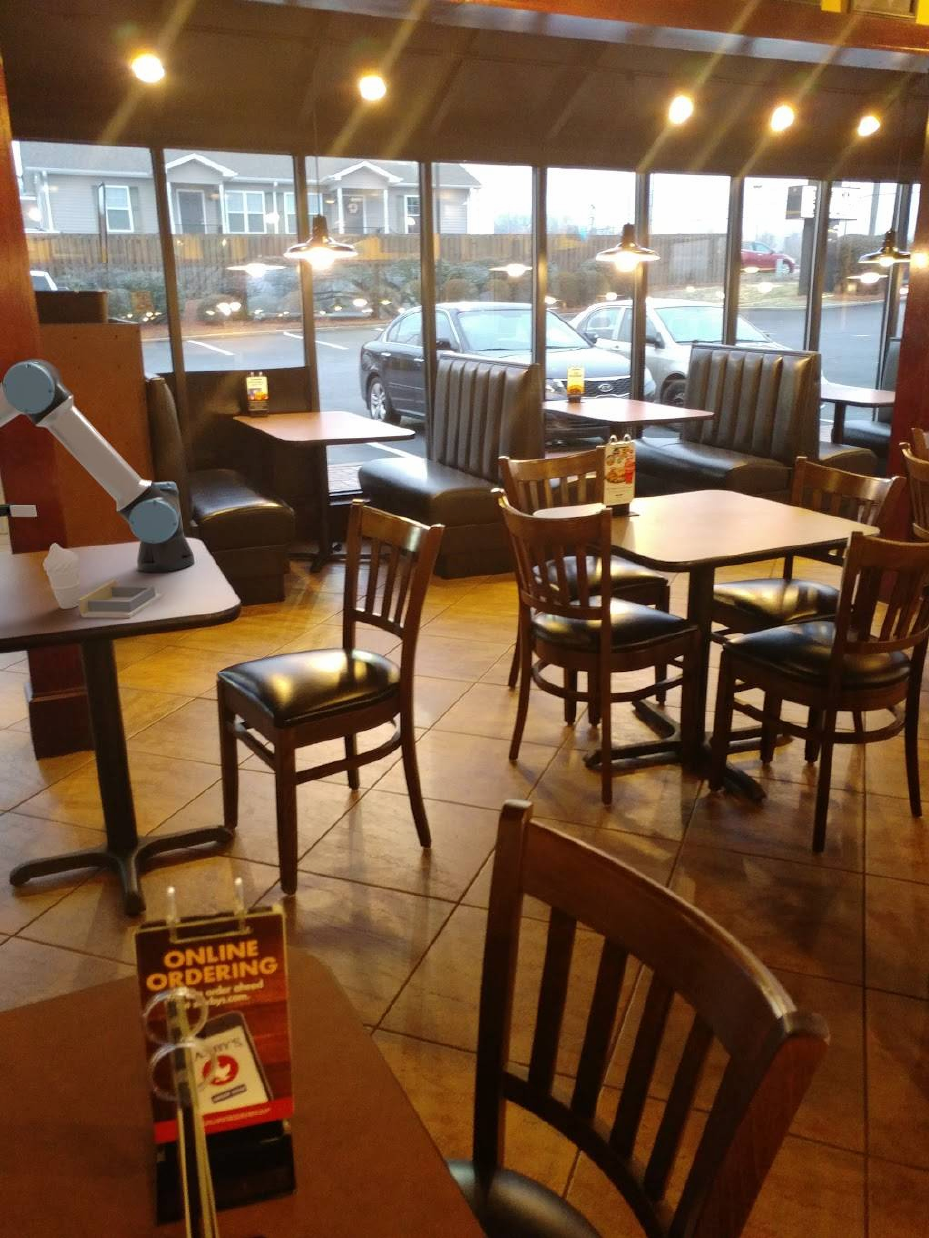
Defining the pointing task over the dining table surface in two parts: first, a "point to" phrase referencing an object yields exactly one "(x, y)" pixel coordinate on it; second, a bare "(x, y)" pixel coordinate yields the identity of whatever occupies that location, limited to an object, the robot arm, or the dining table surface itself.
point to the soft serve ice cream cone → (63, 575)
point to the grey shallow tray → (117, 600)
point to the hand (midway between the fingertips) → (19, 517)
